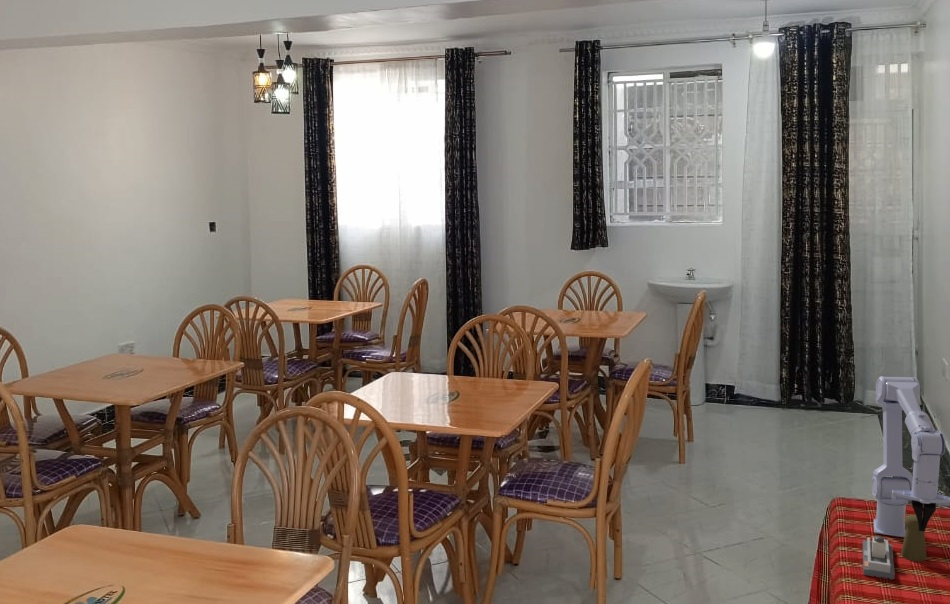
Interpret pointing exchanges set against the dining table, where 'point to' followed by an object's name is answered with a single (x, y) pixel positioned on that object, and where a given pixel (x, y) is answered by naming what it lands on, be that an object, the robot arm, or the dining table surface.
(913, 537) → the brown tall tapered piece
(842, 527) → the dining table surface
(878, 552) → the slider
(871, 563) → the board
